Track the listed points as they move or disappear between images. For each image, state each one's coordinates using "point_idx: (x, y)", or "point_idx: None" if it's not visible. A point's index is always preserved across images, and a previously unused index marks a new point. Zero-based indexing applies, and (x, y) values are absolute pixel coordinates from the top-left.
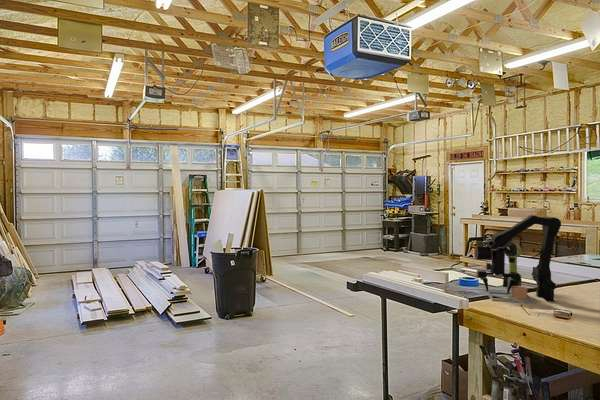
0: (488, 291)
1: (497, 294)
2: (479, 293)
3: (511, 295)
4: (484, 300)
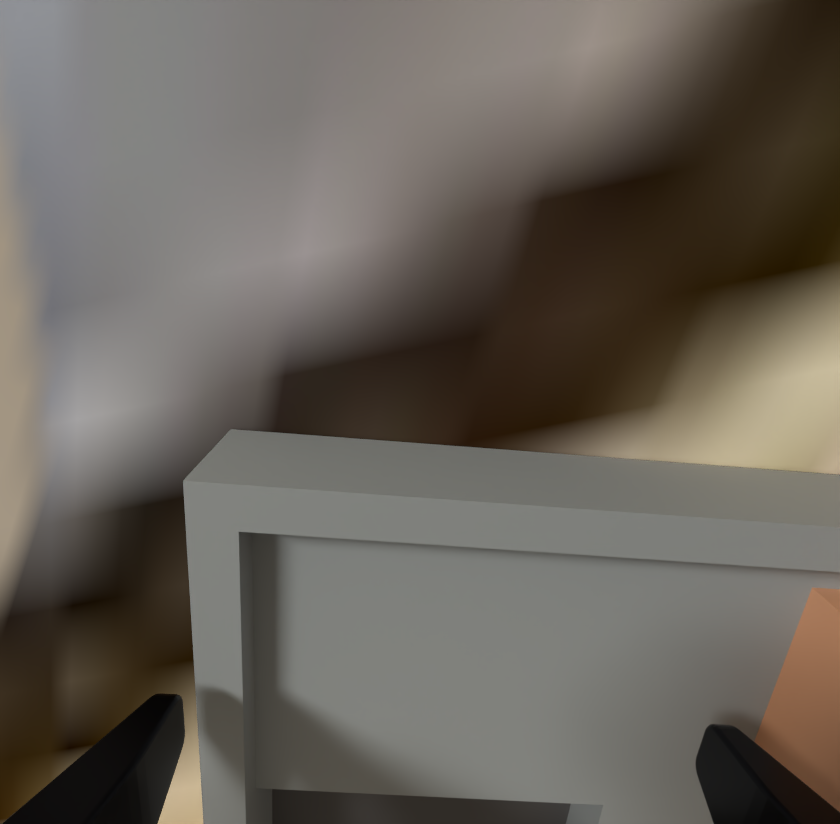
0: (240, 517)
1: (464, 616)
2: (61, 205)
3: (787, 665)
4: None
